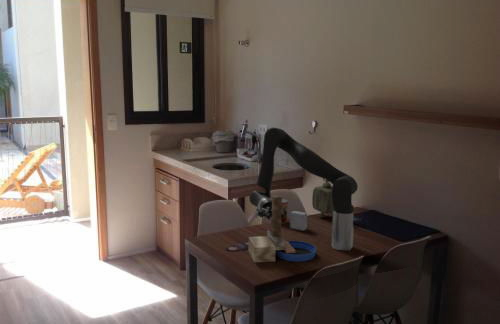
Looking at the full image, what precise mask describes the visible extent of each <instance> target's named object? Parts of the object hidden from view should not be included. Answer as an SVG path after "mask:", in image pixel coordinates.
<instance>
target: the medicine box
mask: <svg viewBox="0 0 500 324" xmlns="http://www.w3.org/2000/svg"><path fill="white" fill-rule="evenodd" d="M289 216H290V217H289V219H290V220H289V228H290V229H291V230H292V229H293V230H297V231H306V230H307V228H308V227H307V226H308V213H307V212H302V211H296V210H292V211H291V212H290V214H289Z"/></svg>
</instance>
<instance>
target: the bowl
mask: <svg viewBox="0 0 500 324" xmlns="http://www.w3.org/2000/svg"><path fill="white" fill-rule="evenodd" d="M287 241H288V242H289V243H290V245H291V246H292V247H293V248H294V249H295V253H286V252H285V251H284V252H282V250H276V253H275V255H276V256H277V257H278V258H280V259H282V260H285V261H289V262H305V261H307V262H308V261H310V260H312V259H314V258H315V255H316V253H317V248H316V246H315V245H313V244H312V243H309V242H306V241H301V240H287Z"/></svg>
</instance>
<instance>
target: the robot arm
mask: <svg viewBox="0 0 500 324" xmlns="http://www.w3.org/2000/svg"><path fill="white" fill-rule="evenodd" d="M263 136H264V137H263V148H262V155H261V156H262V157H261V164H260V168H259V173H258V176H257V181H256V185H257V186H258V187H260V188H261V189H264V191H260V190H253V191H251V192H250V194H249V202H250V204H251V205H252V206H255V207H256V209H255V210H256V211H255V214H256V215H257V216H258V217H259V218H263V217H264V218H266V219H268V220H271V218H272V194H271V187H272V182H273V178H274V171H275V164H274V163H275V154H276V150H277V148H278V149H280V150H282V151H284V152H285V153H287V155H289V156H290V157H291V158H292V160H294V162H295V163H296V164H297V165H298V166H299V167H301V168H302V169H303V170H305V171H306V172H307V173H309V174H311V175H314V176H316V177H319V178H321V179H323V178H324V180H328V181H329V182H328V183H330V184H331V185H332V186H333V187H332V205H333V215H332V227H331V228H332V229H331V248H332V249H334V250H337V251H351V249H352V248H353V247H354V233H355V232H354V229H355V228H354V210H355V207H354V205H353V203H352V199H353V197H352V195H354V194H355V193H356V192H357V191H358V183H357V180H356V179H355V178H354V177H352V176H351V175H349V174H347V173H345V172H343V171H341V170H339V168H336V166H333V165H332V164H331V163H330V162H328V161H327V160H325V159H324V158H323V157H321V156H320V155H319V154H317V153H316V152H315V151H313V150H312V149H310V148H308V147H307V146H305V145H303V144H301V143H299V142H298V141H296V140H295V139H294V138H293V137H292V136H290V134H288V132H286V131H285V130H283V129H281V128H278V127H270V128H267V130H266V131H265V133H264V135H263ZM286 212H287V213H288V209H287V210H286V208H282V216H281V218H282V219H284V218H285V217H286Z"/></svg>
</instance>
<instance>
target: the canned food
mask: <svg viewBox="0 0 500 324" xmlns="http://www.w3.org/2000/svg"><path fill="white" fill-rule="evenodd" d="M288 204H289V203H288V200H287V199H285V198H282V208H286V210H287V212H286V217H285V218H284V219H282V218H281V225H283V224H284V223H285V224H287V223H288Z"/></svg>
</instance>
